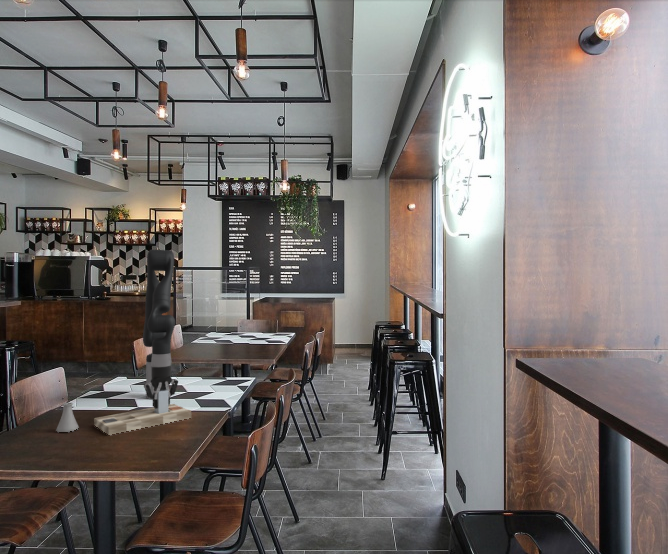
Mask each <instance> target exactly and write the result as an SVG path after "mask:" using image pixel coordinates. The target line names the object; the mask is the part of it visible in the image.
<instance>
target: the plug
mask: <svg viewBox="0 0 668 554" xmlns="http://www.w3.org/2000/svg"><path fill="white" fill-rule="evenodd" d="M157 399H158V408H157V409H155V413H157V414H160V413H165V412H168V390H160V392H158V397H157Z"/></svg>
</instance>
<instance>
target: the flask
mask: <svg viewBox="0 0 668 554" xmlns="http://www.w3.org/2000/svg"><path fill="white" fill-rule="evenodd" d="M73 404H74V403H72V402H66V403H62V404H61V405H62V408H63V410H62V414H61V417H60V420H59V422H58V424H57V427H56V429H55V432H56V431H57V433H59V432H68V433H71V432H70V431H72V432H75V431H74V430H76V429H77V430H79V429H80V426H79V424H78V422H77V420H76V418H75V415H74V412H73ZM78 428H79V429H78ZM77 430H76V431H77Z"/></svg>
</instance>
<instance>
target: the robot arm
mask: <svg viewBox="0 0 668 554" xmlns="http://www.w3.org/2000/svg"><path fill="white" fill-rule="evenodd" d="M146 255H147V257H146V277H147V278H146V291H145V302H144V303H145V305H144V307H145V310H144V311H145V312H144V313H145V315H144V316H145V317H144V324H143V331H142V333H143V334H142V343H143V345H144V347H146V348H151V353H149V354H147V355H146V357H145V359H146V362H145V364H146V365H145V371H146V373H145V375H146V376H145V381H146V383H144V384H143V388H144V390H145V397H146V399H149V400H152V408H153V407H154V408H155V409H157V408H158V399H157V397H158V392H160V390H168V406H169V405H170V404H171V397H172V396H174V395H175V393H176V390H177V388H178V385H179V380H177V379H173V378H172V355H171V354H172V353H171V351H172V349H171V343H172V342H171V341H172V336H173V332H174V331H175V330H174V329H175V326H176V318H175V317H174V316H173V315H171V314H167V313H168V312H170V310H171V291H172V282H173V277H174V270H175V269H174V266H175V255H174V252H173V250H167V249H149V250H148V252H147V254H146ZM156 272H164V273H165V274H164V276H163V278H162V279H161V281H160V280H159V279H158V277H157V274H156ZM169 386H170V387H169Z"/></svg>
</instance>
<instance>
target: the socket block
mask: <svg viewBox="0 0 668 554" xmlns="http://www.w3.org/2000/svg"><path fill="white" fill-rule="evenodd" d="M189 418H191V419H192V411H191V410H190V409H187V408H185V407H183V406H179V405H178V404H175V403H170V405H169V406H168V412H165V413H160V414H157V413H155V408H154V407H153V406H152V407H148V408H143V409H142V408H141V409H138V410H133V411H132V410H131V411H127V412H122V413H121V412H120V413H116V414H115V413H114V414H111V415H105V416H99V417H95V418H93V421H94V422H93V426H94V425H95V426H96V427H98V428H99V429H101V430H102V431H103V432H102V431H101V430H100V431H101V432H102V433H104V432H105V433H107V434H108V435H110V436H113V435H112V434H115V435H117V434H116V433H119V434H122V433H121V432H124V433H127V432H126V431H129V432H132V431H131V430H134V431H137V430H136V429H139V430H142V429H141V428H144V429H146V428H145V427H148V428H152V427H151V426H153V427H156V426H155V425H158V426H161V425H160V424H163V425H166V424H165V423H168V424H171V423H170V422H172V423H175V422H174V421H177V422H180V421H179V420H182V421H185V420H184V419H187V420H190V419H189ZM95 426H94V427H95ZM96 427H95V428H96ZM98 428H97V429H98ZM99 429H98V430H99ZM105 433H104V434H105ZM107 434H106V435H107ZM108 435H107V436H108Z"/></svg>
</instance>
